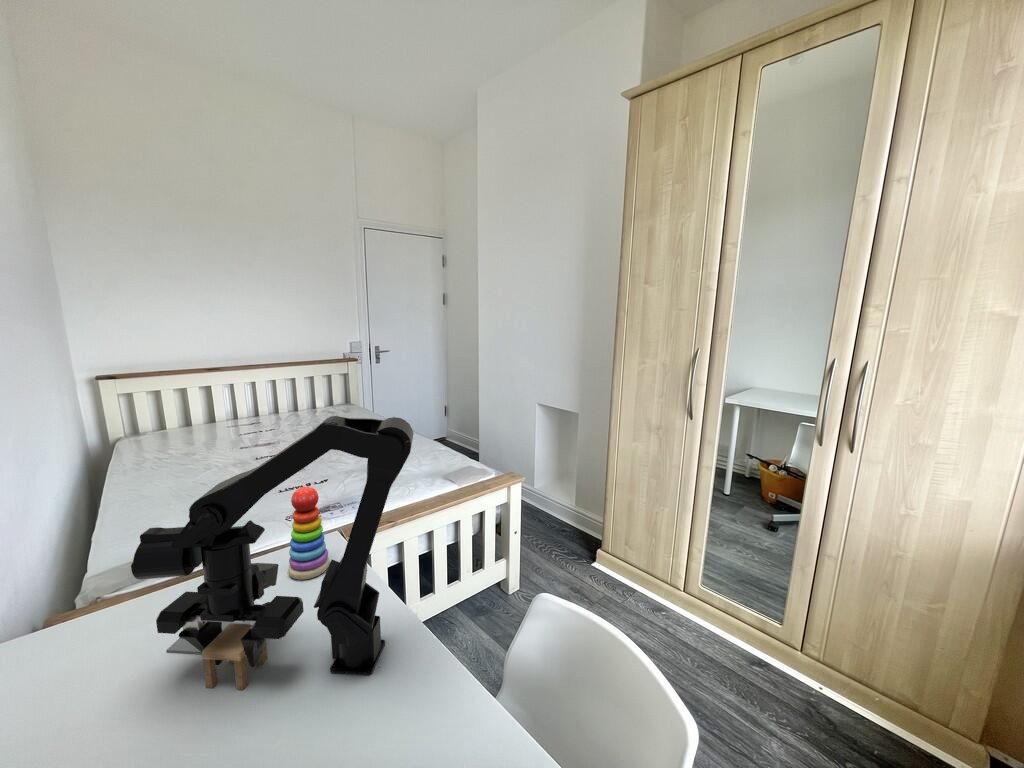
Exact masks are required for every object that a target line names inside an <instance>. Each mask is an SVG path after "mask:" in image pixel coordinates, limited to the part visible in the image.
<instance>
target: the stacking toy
mask: <svg viewBox="0 0 1024 768" xmlns="http://www.w3.org/2000/svg"><path fill="white" fill-rule="evenodd" d="M319 497H320V496H319V494H318V491H317V490H316V489H315V488H313V487H311V486H301V487H299V488H298V489H296V490H294V492H293V493H292V496H291V500H290V503H291V506H292V507H293V509H295V510H294V511H293V512H292V519H293V522H292V523H291V524H292V525H291V527H292V530H291V532H290V537H291V539H290V541H289V546H290V548H289V549H288V550H289V560H288V561H289V562H288V563H289V564H288V569H287V573H288V575H289V576H290V577H291V578H292V579H295V580H299V581H300V580H308V579H309V580H310V579H312V578H315V577H317V576H319V575H322V574H323V573H324V572H325V571H327V569H328V567H329V564H330V557H329V550H328V549H327V544H326V541H325V534H324V532H323V531H324V528H323V525H322V523H323V522H322V518H321V516H320V509H319V508H318V507H317V505H318V502H319Z"/></svg>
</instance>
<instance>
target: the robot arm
mask: <svg viewBox="0 0 1024 768" xmlns="http://www.w3.org/2000/svg"><path fill="white" fill-rule="evenodd" d="M413 438H414V429H413V428H412V426H411V424H410V423H409V422H407V420H406V419H403V418H402V417H395V416H393V417H388V418H386V419H378V418H359V417H357V418H356V417H355V418H354V417H352V418H351V417H343V416H339V415H331V416H329V417H327V418H325V419H324V420H323V421H322V422H321V423H319V424H318V426H317V427H315V428H313V429H312V430H310V431H309V432H308V433H306V434H304V435H303V436H301V437H300V438H298V439H297V440H295V441H294V442H292V443H291V444H290V445H288V446H287V447H285V448H284V449H282V450H280V451H279V452H278V453H276V454H274V455H273V456H272V457H270V458H269V459H267V460H266V461H265V462H262V463H261V464H260V465H258V466H257V467H254V468H251V469H249V470H247V471H244V472H241V473H238V474H236V475H234V476H232V477H230V478H227V479H226V480H223V481H220V482H219V483H218V484H215V486H213V487H212V488H210V489H209V490H208V491H207V492H206V493H204V494H203V495H202V496H200V497H199V498H198V499H196V500H195V501H194V502H193V503H191V505H190V506H189V508H188V518H189V521H187V522H186V524H185V526H180V527H179V526H178V527H160V526H159V527H157V526H156V527H149V528H148V529H146V530H145V531H144V532H143V533H141V534H140V535H139V541H140V543H139V544H138V546H137V547H136V550H135V552H134V555H133V561H132V562H131V565H130V567H131V573H132V574H131V575H133V577H134V578H135V579H136V580H139V581H140V580H150V579H151V580H154V579H165V578H166V579H167V578H174V577H177V578H178V577H185V576H189V575H191V574H192V573H193V572H194V570H195V569H196V568H198V567H200V566H201V565H202V573H203V582H202V583H201V584H200V585H199V586H196V587H197V588H196V589H197V590H196V591H184V592H183V593H182V594H180V595H179V596H178V597H177V598H176V599H175V600H174V601H172V602H171V603H170V604H168V605H167V606H166V607H164V608H163V609H162V610H161V611H160V612H159V613H158V615H157V617H156V621H155V622H156V629H157V634H170V635H171V634H172V635H173V634H174V635H176V634H177V633H178V632H179V631H180V630H181V629H182V630H181V631H180V632H179V634H178V639H179V638H181V639H185V640H186V641H188V642H189V643H190V644H192V645H193V646H194V647H196V648H197V649H198V650H199V651H200V652H202V651H203V650H204V649H205V648H206V647H207V646H208V645H209V644H210V643H211V642H212V641H213V640H214V639H215V638H216V637H217V636H218V635H219V634H220V633H221V632H222V622H234V623H243V622H245V621H250V623H251V627H250V628H251V629H250V630H249V631H248V632H247V633H246V634H245V635H244V636H243V637H242V638H241V642H242V645H243V648H244V651H245V654H246V655H245V658H246V659H247V660H246V661H247V662H248V665H249V666H250V668H255V667H256V666H257V665H258V664H257V663H258V661H259V658H260V655H261V652H262V648H263V645H264V642H265V639H266V640H280V639H282V638H284V637H286V635H287V634H288V632H289V631H290V630H291V628H292V627H293V626H294V625H295V624H296V622H297V621H298V620H299V618H300V616H302V615H303V613H304V601H303V599H302V598H301V597H300V596H291V595H289V596H287V595H285V596H284V595H275V597H274V598H273V599H272V600H271V601H268V602H265V603H262V604H257V603H256V604H255V602H256V600H261V598H262V597H263V596H264V595H265V590H266V589H268V588H270V587H274V586H276V585H277V579H278V574H279V573H278V572H279V563H269V562H268V563H266V562H254V563H253V562H252V559H251V558H252V557H251V549H250V545H252V544H255V543H256V542H257V541H258V539H260V537H261V536H262V535H263V534H264V532H265V530H266V529H265V528H264V526H262V525H260V524H256V523H254V521H252V520H248V521H247V522H246V523H245V524H244V525H241V526H240V525H237V526H234V525H235V524H236V523H238V521H240V519H241V518H242V517H244V515H245V514H247V513H248V512H249V511H250V510H251V509H252V508H253V507H254V505H256V504H257V503H258V502H259V501H260V500H261V499H263V498H262V497H264V496H265V495H266V494H268V493H269V492H271V491H272V490H273V489H275V488H276V487H279V486H280V485H282V483H284V482H285V481H287V480H288V479H289V478H291V477H292V476H294V475H296V474H297V473H299V472H301V470H303V469H305V468H306V467H307V466H310V464H312V463H313V462H315V461H317V460H318V459H319V458H321V457H322V456H324V455H325V454H327V453H328V452H329V451H331V450H333V451H340V452H343V453H346V454H350V455H351V456H355V457H358V458H362V459H367V464H366V465H367V466H366V482H365V486H364V489H363V492H362V495H361V499H360V500H359V505H358V509H357V511H356V514H355V518H354V521H353V523H352V527H351V529H350V534H349V536H348V540H347V542H346V547H345V550H344V552H343V556H342V558H341V559H340V560H339V561H338V560H334V559H330V561H329V566H328V568H327V569H326V570H325V571H326V572H325V574H324V577H323V579H322V581H321V585H320V591H319V593H318V595H317V598H316V601H315V603H314V604H313V608H314V609H317V608H318V609H317V613H316V616H317V617H316V618H317V620H318V621H319V622H320V623H321V625H323V626H324V627H326V628H327V631H328V632H329V634H330V644H331V645H330V646H331V658H332V660H333V662H332V664H331V666H330V667H329V671H330V673H332V674H345V675H346V674H347V675H365V676H367V675H371V674H373V671H374V669H375V667H376V664H377V663H378V661H379V658H380V656H381V654H382V652H383V650H384V648H385V644H386V641H385V640H384V639H382V638H381V636H382V632H381V617H380V615H376V611H377V607H378V602H379V597H380V592H379V591H378V590H377V589H376V588H374V587H373V586H372V585H370V584H369V583H367V582H366V581H367V572H368V559H369V555H370V553H371V550H372V547H373V545H374V541H375V537H376V534H377V531H378V528H379V525H380V521H381V519H382V515H383V512H384V510H385V506H386V503H387V500H388V496H389V493H390V491H391V489H392V485H393V484H394V483H395V481H396V479H397V477H398V476H399V474H401V473H400V472H401V471H402V469H403V467H404V465H405V464H406V462H407V460H408V457H409V456H410V455H411V450H412V445H413ZM223 661H224V660H215V662H216V666H220V664H222V663H223Z"/></svg>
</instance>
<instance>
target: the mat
mask: <svg viewBox="0 0 1024 768" xmlns="http://www.w3.org/2000/svg"><path fill="white" fill-rule="evenodd" d="M230 623H234V622H222V631H223V630H224V629H225V628H226V627H227V626H228V625H229V624H230ZM236 624H251V623H250V621H245V622H243V623H236ZM165 651H166V653H173V654H188V655H189V654H192V655H193V654H194V655H202V652H200V651H199V650H198V649H197V648H196V647H194V646H193V645H192V644H190V643H189V642H188V641H186V640H185V639H181V638H179V637H178V639H177V640H176V641H174V642H173V644H171V645H170V646H169V647H168V648H166V650H165Z"/></svg>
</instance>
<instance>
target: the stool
mask: <svg viewBox="0 0 1024 768" xmlns="http://www.w3.org/2000/svg"><path fill="white" fill-rule="evenodd" d="M250 627H251V624H236V623H230V624H229V625H228V626H227V627H226V628H225V629H224V630H223V631H222V632H221V633H220V634H219V635H218V636H217V637H216V638H215V639H214V640H213V641H212V642H211V643H210V644H209V645H208V646H207V647H206V648H205V649H204V650H203V651H202V654H201V657H202V664H203V665H202V666H203V674H204V683H205V684H204V686H205V689H214V687H215V686H216V685H217V684H218V682H219V681H218V673H217V665H216V662H215V660H223V661H228V663H233V668H234V677H235V688H236V690H235V691H244V690H245V689H246V687H247V686H248V685H249V683H248V671H247V663H246V661H247V660H246V659H247V658H246V654H245V651H244V648H243V645H242V642H241V638H242V637H243V636H244V635H245V634H246V633H247V632H248V631H249V630H250V629H251V628H250ZM267 648H268V647H267V639H265V642H264V645H263V648H262V652H261V655H260V658H259V661H258V663H257V664H256V665H264V664H265V663H266V662H267V660H268V650H267Z"/></svg>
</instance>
